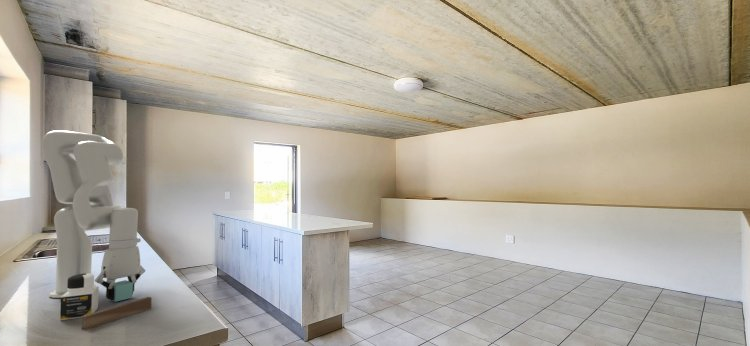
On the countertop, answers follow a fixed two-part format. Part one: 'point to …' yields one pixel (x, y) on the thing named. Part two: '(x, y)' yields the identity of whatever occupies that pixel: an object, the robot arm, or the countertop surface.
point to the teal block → (122, 290)
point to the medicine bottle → (79, 297)
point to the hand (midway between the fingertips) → (120, 296)
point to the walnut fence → (115, 313)
